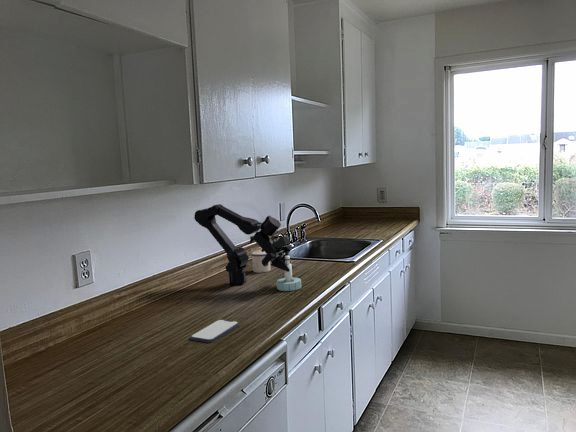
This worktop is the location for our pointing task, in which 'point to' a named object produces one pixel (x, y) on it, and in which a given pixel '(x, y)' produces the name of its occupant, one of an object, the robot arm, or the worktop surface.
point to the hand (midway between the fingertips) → (290, 270)
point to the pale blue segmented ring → (288, 284)
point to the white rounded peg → (289, 274)
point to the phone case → (215, 331)
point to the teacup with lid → (259, 261)
